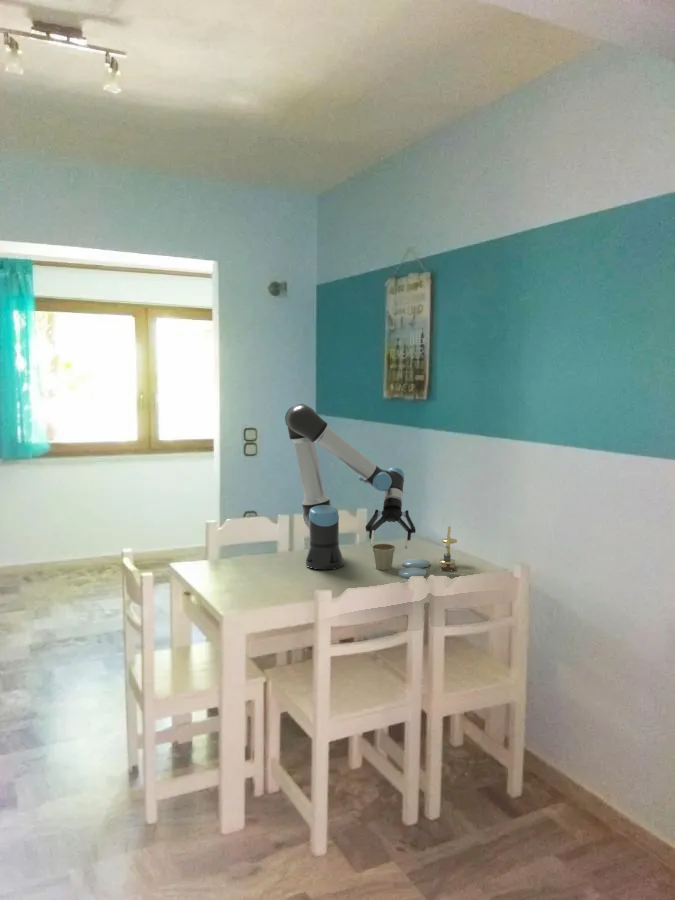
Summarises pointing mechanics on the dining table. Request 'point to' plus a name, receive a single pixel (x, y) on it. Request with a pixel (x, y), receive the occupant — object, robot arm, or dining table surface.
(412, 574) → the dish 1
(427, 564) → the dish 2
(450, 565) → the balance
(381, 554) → the flower pot
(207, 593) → the dining table surface
